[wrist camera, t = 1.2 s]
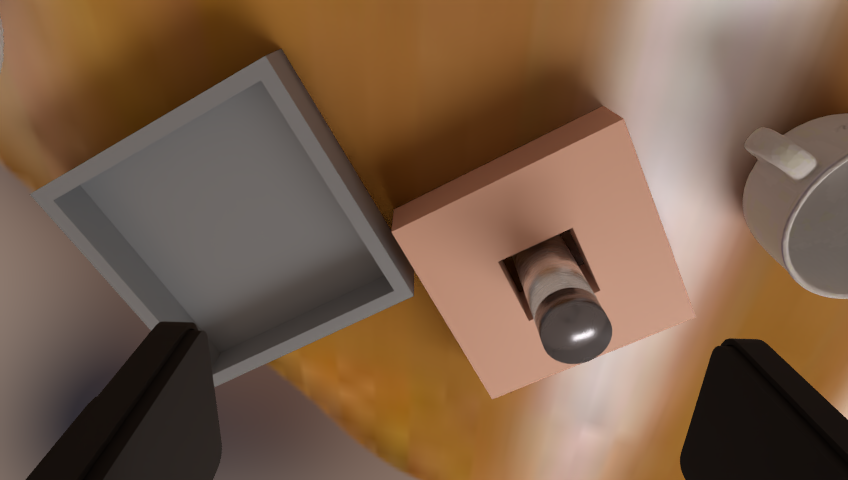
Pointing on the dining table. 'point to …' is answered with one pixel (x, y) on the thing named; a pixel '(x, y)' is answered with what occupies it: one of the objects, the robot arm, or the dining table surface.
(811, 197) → the teacup
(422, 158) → the dining table surface
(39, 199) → the tray
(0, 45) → the cereal bowl
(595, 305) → the pin
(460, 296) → the hitch block
